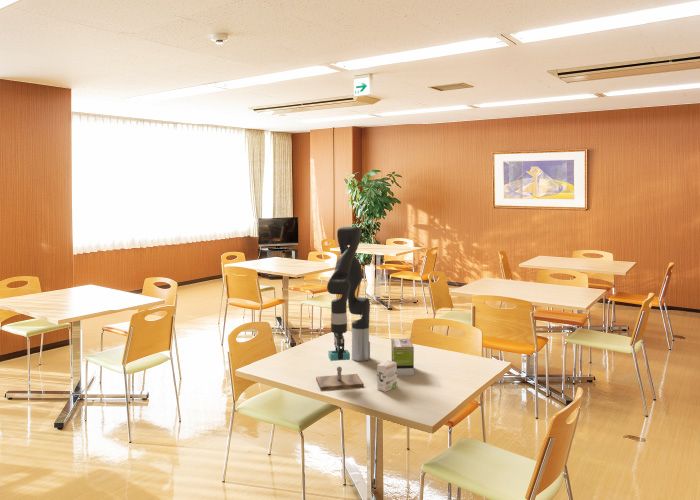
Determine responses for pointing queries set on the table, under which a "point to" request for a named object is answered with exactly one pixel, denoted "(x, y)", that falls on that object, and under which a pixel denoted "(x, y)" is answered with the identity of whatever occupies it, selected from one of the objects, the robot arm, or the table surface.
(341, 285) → the robot arm
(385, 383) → the ink box
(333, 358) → the teal open frame
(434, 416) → the table surface
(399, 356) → the tea box
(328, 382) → the plate
